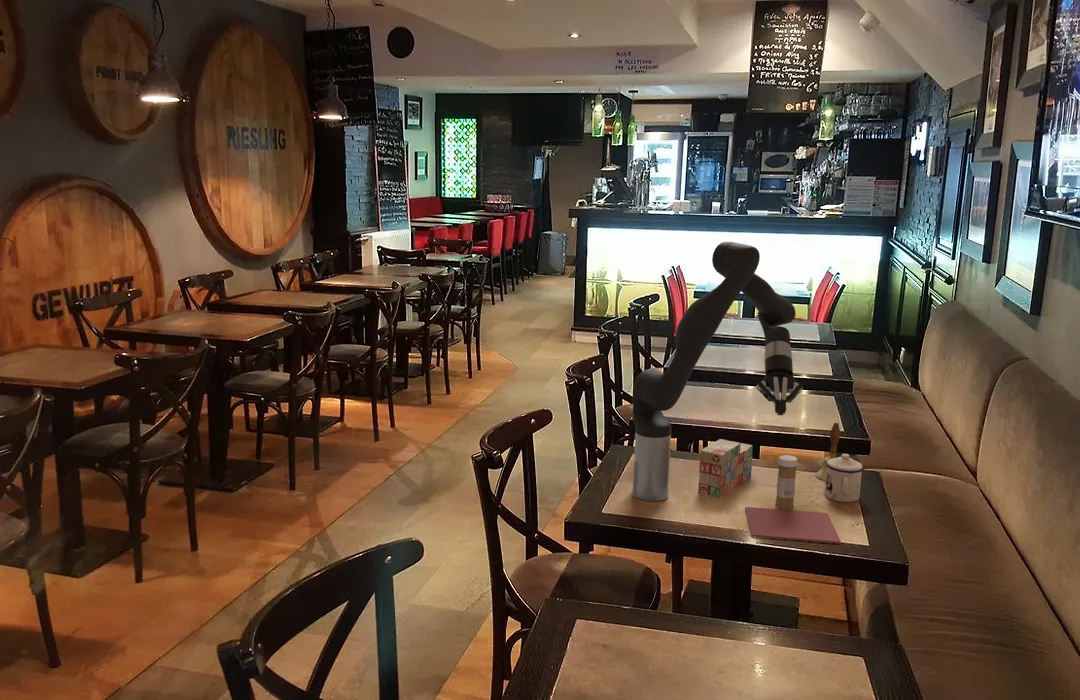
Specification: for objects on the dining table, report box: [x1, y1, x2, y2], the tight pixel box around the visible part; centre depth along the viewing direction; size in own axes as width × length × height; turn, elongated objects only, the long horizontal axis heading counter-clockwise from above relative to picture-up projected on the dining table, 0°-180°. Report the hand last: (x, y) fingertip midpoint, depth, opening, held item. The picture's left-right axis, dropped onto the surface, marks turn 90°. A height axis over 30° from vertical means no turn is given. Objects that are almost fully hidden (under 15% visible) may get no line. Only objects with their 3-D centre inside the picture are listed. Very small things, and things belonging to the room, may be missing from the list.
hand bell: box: [815, 422, 841, 482], centre depth 226 cm, size 8×8×16 cm
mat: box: [744, 506, 842, 545], centre depth 194 cm, size 20×17×1 cm
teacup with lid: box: [824, 453, 864, 503], centre depth 211 cm, size 12×9×12 cm
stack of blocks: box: [697, 438, 754, 499], centre depth 220 cm, size 21×6×12 cm, turn 143°
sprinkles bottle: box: [775, 454, 798, 510], centre depth 204 cm, size 5×5×13 cm
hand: (780, 413), depth 220 cm, fingers closed
